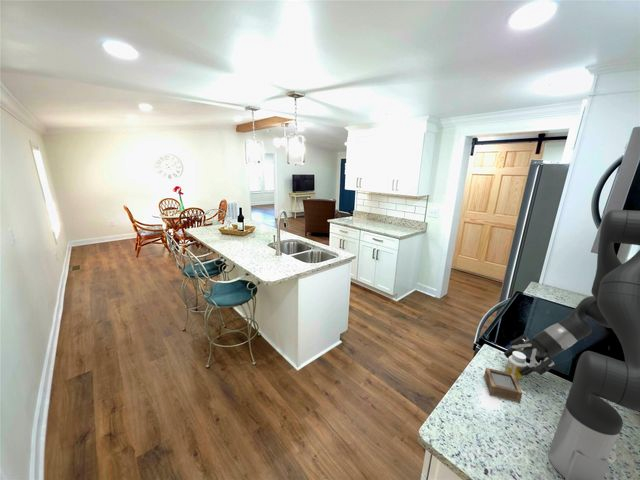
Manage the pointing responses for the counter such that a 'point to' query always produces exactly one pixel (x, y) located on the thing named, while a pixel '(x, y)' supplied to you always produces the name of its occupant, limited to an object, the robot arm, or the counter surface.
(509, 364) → the supplement bottle
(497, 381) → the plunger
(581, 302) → the robot arm
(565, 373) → the counter surface
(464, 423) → the counter surface
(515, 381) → the brown square tray
